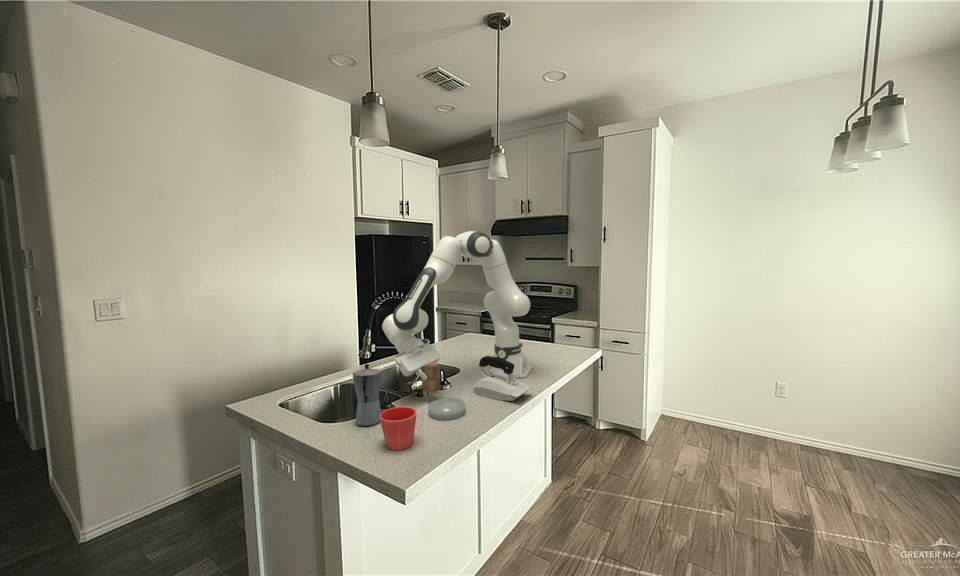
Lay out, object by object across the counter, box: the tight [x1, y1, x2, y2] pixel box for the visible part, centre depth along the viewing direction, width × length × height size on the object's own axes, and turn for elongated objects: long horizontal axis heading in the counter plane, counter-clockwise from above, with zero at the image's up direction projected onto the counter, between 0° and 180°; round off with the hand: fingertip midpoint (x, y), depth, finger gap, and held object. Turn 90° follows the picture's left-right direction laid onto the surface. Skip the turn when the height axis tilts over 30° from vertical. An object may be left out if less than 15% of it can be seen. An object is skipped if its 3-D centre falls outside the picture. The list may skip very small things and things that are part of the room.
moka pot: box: [352, 363, 382, 427], centre depth 131 cm, size 10×15×20 cm, turn 14°
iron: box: [473, 355, 533, 402], centre depth 152 cm, size 11×24×15 cm, turn 54°
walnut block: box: [421, 362, 441, 394], centre depth 148 cm, size 5×5×10 cm
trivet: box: [428, 397, 466, 422], centre depth 137 cm, size 13×13×3 cm
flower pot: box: [380, 406, 418, 451], centre depth 115 cm, size 11×11×10 cm
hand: (432, 376), depth 147 cm, fingers closed on walnut block, 5 cm apart
